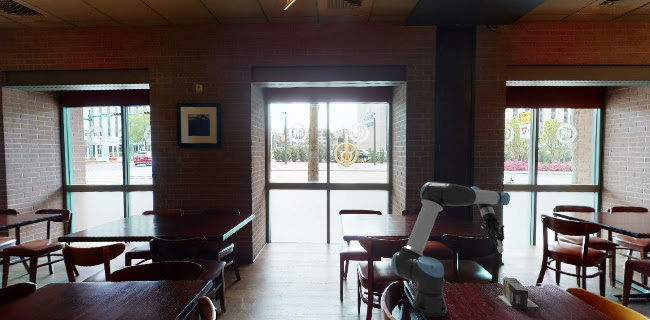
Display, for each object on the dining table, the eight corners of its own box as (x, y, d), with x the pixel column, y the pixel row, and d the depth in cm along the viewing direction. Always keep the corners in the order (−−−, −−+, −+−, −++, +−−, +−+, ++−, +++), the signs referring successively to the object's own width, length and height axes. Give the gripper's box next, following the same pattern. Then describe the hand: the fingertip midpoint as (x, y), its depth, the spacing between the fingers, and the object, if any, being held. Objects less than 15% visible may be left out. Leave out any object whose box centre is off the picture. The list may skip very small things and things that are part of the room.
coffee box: (502, 276, 172) (513, 288, 156) (516, 278, 170) (528, 290, 155) (502, 294, 172) (512, 307, 156) (515, 295, 170) (527, 309, 155)
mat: (508, 306, 159) (508, 305, 159) (497, 296, 170) (497, 295, 170) (538, 307, 158) (538, 306, 158) (525, 297, 169) (525, 296, 169)
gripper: (497, 219, 200) (510, 255, 184) (475, 219, 201) (487, 254, 184) (502, 212, 195) (516, 248, 178) (479, 212, 195) (491, 247, 179)
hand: (501, 251), depth 181 cm, fingers closed
